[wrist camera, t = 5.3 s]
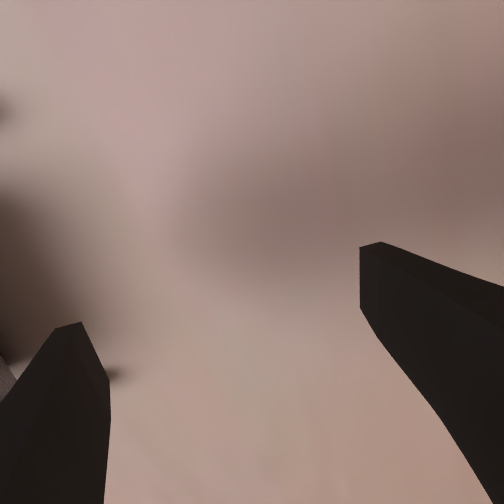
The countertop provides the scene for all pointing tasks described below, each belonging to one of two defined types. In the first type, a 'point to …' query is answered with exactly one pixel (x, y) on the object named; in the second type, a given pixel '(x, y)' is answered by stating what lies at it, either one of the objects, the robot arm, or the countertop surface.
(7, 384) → the trolley
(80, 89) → the countertop surface
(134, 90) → the countertop surface
